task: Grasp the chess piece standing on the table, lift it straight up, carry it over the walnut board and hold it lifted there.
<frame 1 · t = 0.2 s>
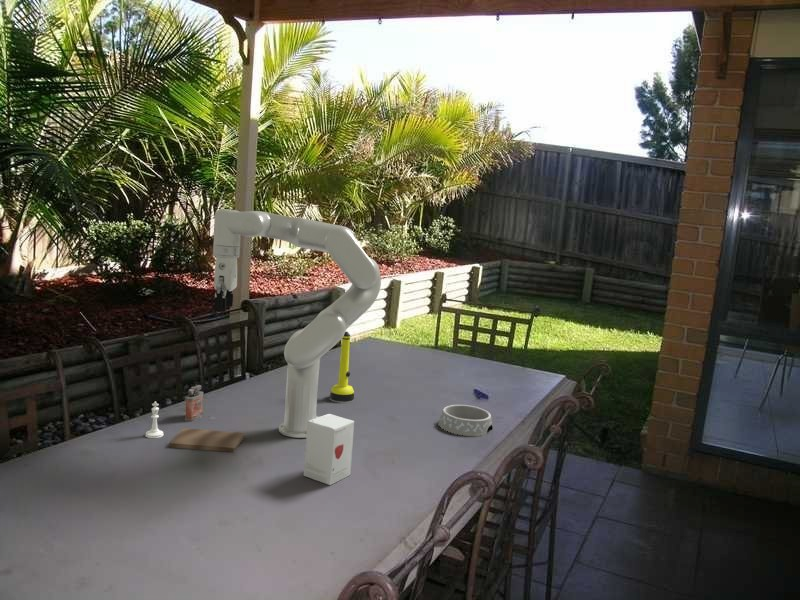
hand: (223, 308, 192), 36 cm above the table, tool pointing down, fingers open, 9 cm apart
supplement box: (327, 476, 168), on the table
dog bowl: (465, 427, 215), on the table
flashlight: (341, 399, 234), on the table
chess piece: (154, 435, 186), on the table
lighter: (193, 418, 203), on the table
walnut board: (208, 441, 184), on the table
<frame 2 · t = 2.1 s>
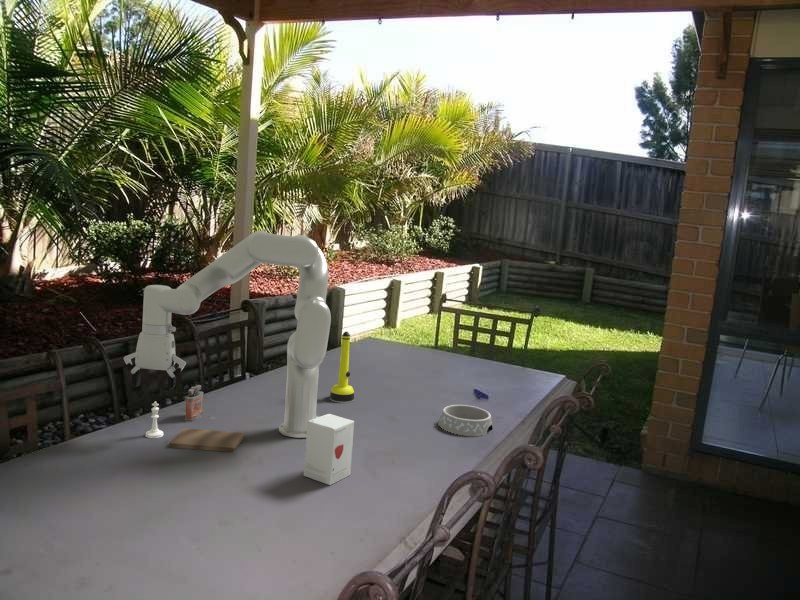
hand: (153, 388, 184), 14 cm above the table, tool pointing down, fingers open, 9 cm apart
nothing on the table moved.
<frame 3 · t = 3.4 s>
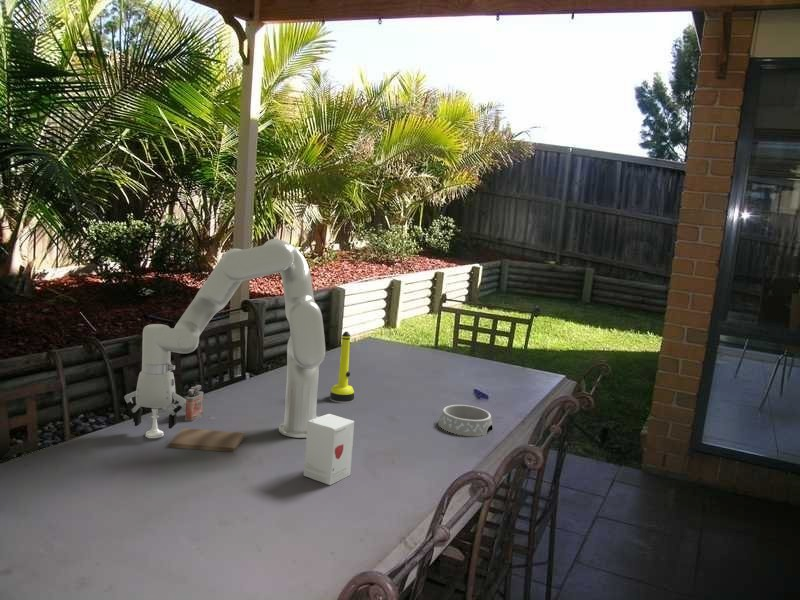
hand: (154, 425, 185), 3 cm above the table, tool pointing down, fingers open, 9 cm apart
nothing on the table moved.
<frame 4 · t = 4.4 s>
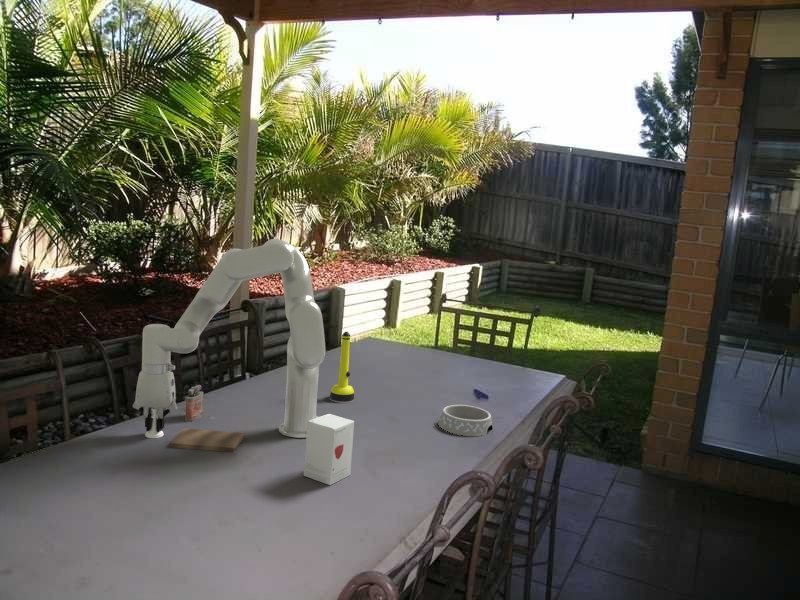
hand: (154, 429, 186), 2 cm above the table, tool pointing down, fingers closed on chess piece
chess piece: (154, 435, 186), on the table, touching gripper
everything else where it was.
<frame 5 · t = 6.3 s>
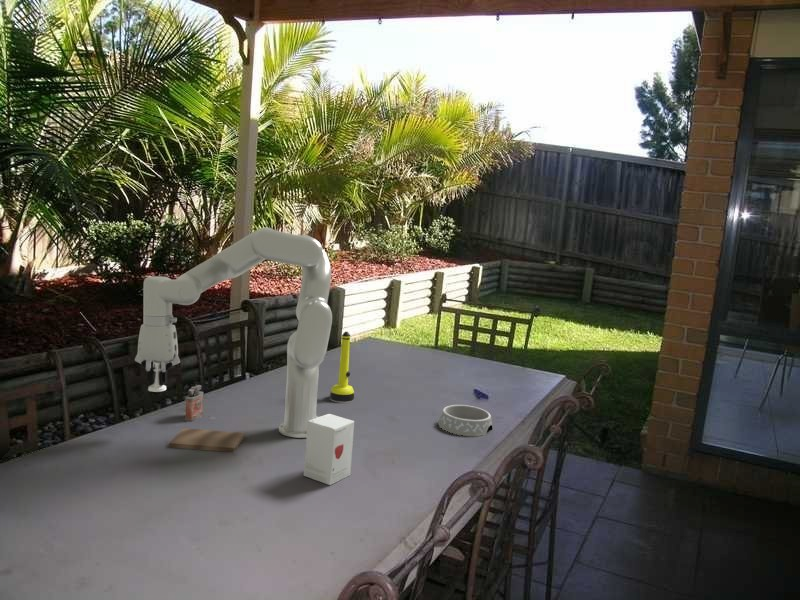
hand: (157, 383, 184), 15 cm above the table, tool pointing down, fingers closed on chess piece
chess piece: (157, 390, 184), point 13 cm above the table, touching gripper
everything else where it was.
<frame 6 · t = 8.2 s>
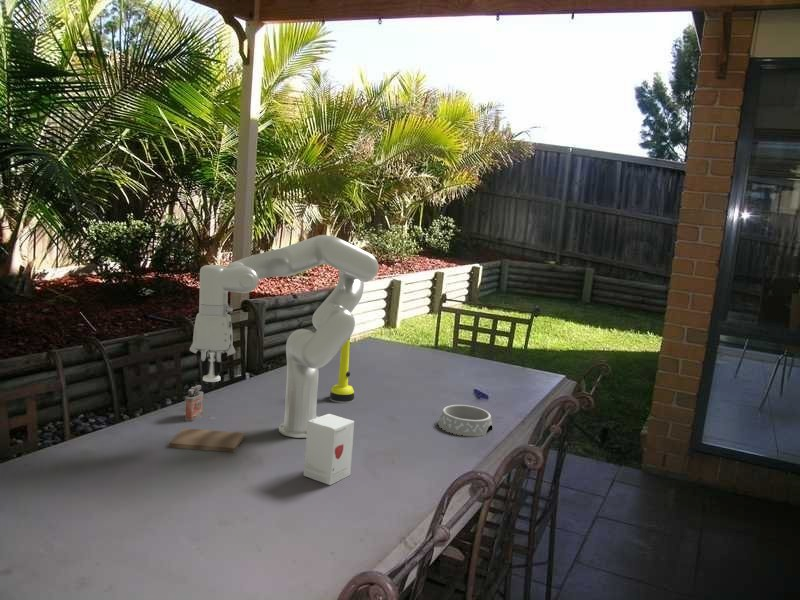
hand: (211, 373, 181), 20 cm above the table, tool pointing down, fingers closed on chess piece
chess piece: (211, 380, 182), point 18 cm above the table, touching gripper
everything else where it was.
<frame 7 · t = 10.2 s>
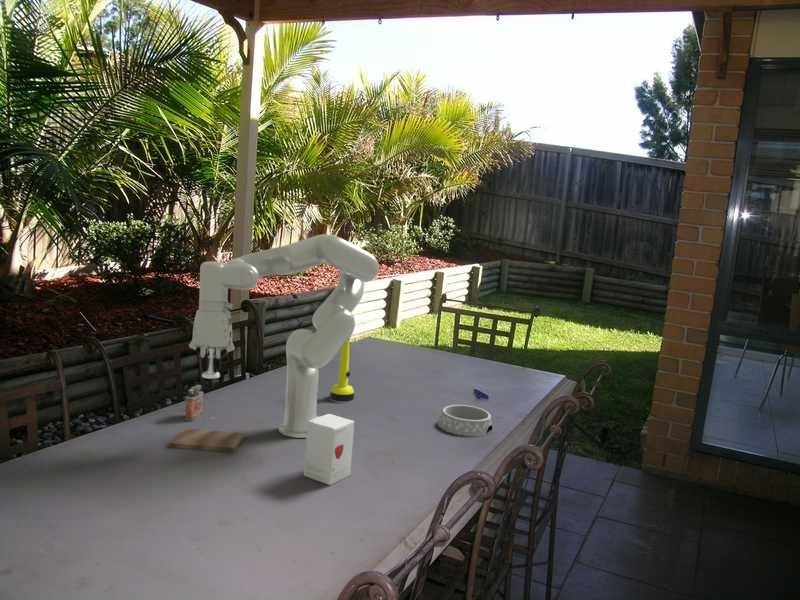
hand: (211, 370, 181), 21 cm above the table, tool pointing down, fingers closed on chess piece
chess piece: (210, 376, 181), point 19 cm above the table, touching gripper
everything else where it was.
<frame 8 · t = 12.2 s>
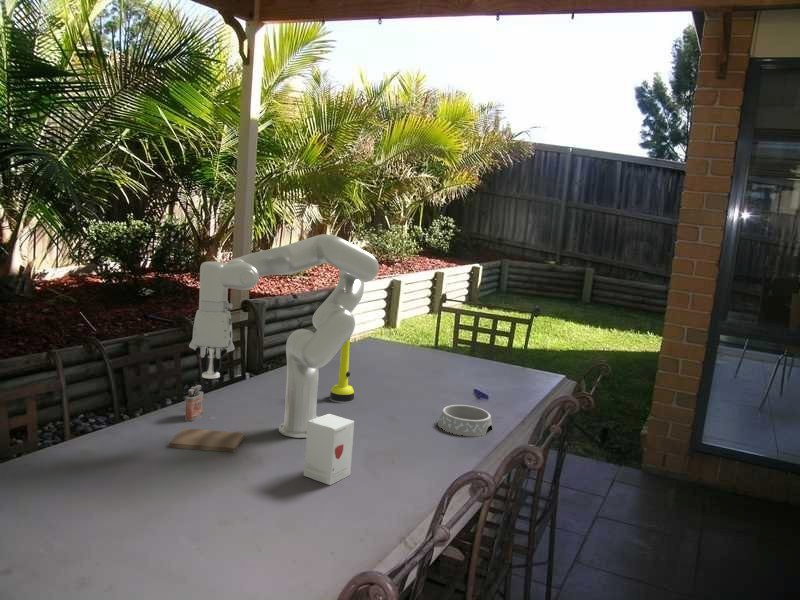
hand: (211, 370, 181), 21 cm above the table, tool pointing down, fingers closed on chess piece
chess piece: (210, 376, 181), point 19 cm above the table, touching gripper
everything else where it was.
at the end: the gripper is holding chess piece; chess piece inside the target area on the walnut board (0.1 cm from its centre), point 19.1 cm above the walnut board's base; chess piece tilted 0° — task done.
